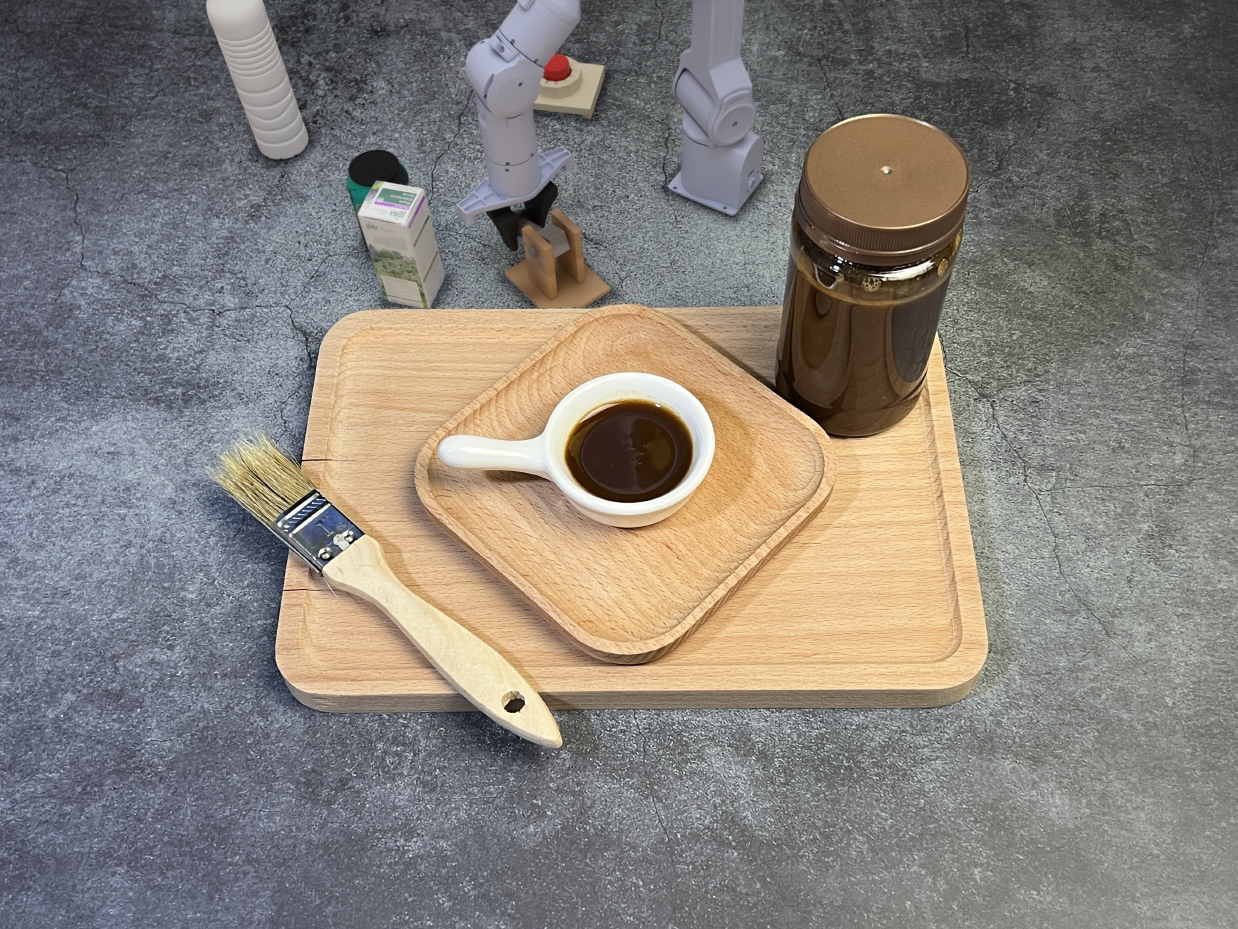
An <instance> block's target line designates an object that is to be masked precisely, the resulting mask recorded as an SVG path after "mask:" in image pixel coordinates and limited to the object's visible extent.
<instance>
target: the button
mask: <svg viewBox="0 0 1238 929" xmlns="http://www.w3.org/2000/svg"><path fill="white" fill-rule="evenodd" d="M565 56H566V55H564V54H561V53H555V54H554V55H553V57H552V58H551V59H550V61H549V62H548V63H547V65H546V66H545V67H544V68H543V69H544V70H545V71H544V73H543V74H544V76H543V77H544V79H546V80H548V81H554V82H558V81H562V80H565V79H566V78H568V77H569V74H570V69H569V60H568V58H567V57H568V56H567V57H565Z"/></svg>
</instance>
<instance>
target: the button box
mask: <svg viewBox="0 0 1238 929" xmlns="http://www.w3.org/2000/svg"><path fill="white" fill-rule="evenodd" d="M564 56H565V57H567V58H568V60H569V69H570V74H569V77H568V78H566V79H565V80H562V81H558V82H554V81H548V80H546V79H544V77H542V79H541V81H540V91H539V95H538V97H537V100H536V101H535V102H534V103H533V104H532V110H537V111H546V112H554V113H564V114H571V115H581V116H582V117H583V118H584V119H586V120H592V118H593V114H594V111H595V107H596V104H597V101H598V99H599V96H600V92H601V89H602V85H603V83H604V79H605V76H606V74H605V73H606V70H605V65H603V64H594V63H585V62H578V61H577V60H575V59H573V58H571V57H570V56H568V55H567V56H566V55H564Z"/></svg>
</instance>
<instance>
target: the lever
mask: <svg viewBox="0 0 1238 929" xmlns="http://www.w3.org/2000/svg"><path fill="white" fill-rule="evenodd" d="M512 211H513V212H515V213H516V214H517V215H518V216H519V219H518V222H517V238H523V235H522V228H524V227H526V226H527V225H530V226H531V227H532V228H533V229H534V230H535V231H536V232H537V233H538V234H539V235H540V236H541V237H542V238H543V239H545V240H546V241H547V242H548V243H549V244H550V245H551V246H552V249H553V257H554V258H556V257H557V256H559V255H561V254H562V253H564V252H566V251H568V250H569V249H570V247H569V244H568V241H567V237H566V234H565V231H564V230H562V229H560V228H558V227H557V226H555V225H553V224H552V223H550V224H548V225H545V227H544V228H542V227H540V226H538V225H536V224H534V219H533V217H532V215H531V214H530V213H529V212H528V211H526V210H525V208H524V209H523V208H516V209H514V210H512Z"/></svg>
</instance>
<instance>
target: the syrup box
mask: <svg viewBox="0 0 1238 929" xmlns="http://www.w3.org/2000/svg"><path fill="white" fill-rule="evenodd" d="M357 215H358V218H359V221H360V224H361V228H362V231H363V234H364V237H365V240H366V243H367V246H368V249H369V252H370V253H369V252H368V253H369V255H370V259H371V261H372V265H373V268H374V272H375V274H376V278H377V280H378V283H379V285H380V289H381V293H382V296H383V299H384V301H386V302H390V303H394V304H400V305H404V306H409V307H414V308H418V309H423V308H431V307H432V305H433V303H434V301H435V299H436V296H437V294H438V293H439V290H440V288H441V286H442V284H443V282H444V281H445V278H446V273H445V269H444V266H443V262H442V259H441V254H440V250H439V246H438V241H437V238H436V234H435V233H436V232H435V230H434V224H433V221H432V217H431V216H432V215H431V211H430V207H429V204H428V199H427V195H426V192H425V189H424V188H421V187H415V186H411V187H410V186H405V185H399V184H394V183H388V182H383V181H378V180H377V181H376V182H375V183H374V185H373V187H372V188H371V190H370V191H369V193H368V195H367V196H366V198H365V200H364V202H363V204H362V206H361V208H360V211H359V212H358V214H357Z"/></svg>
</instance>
